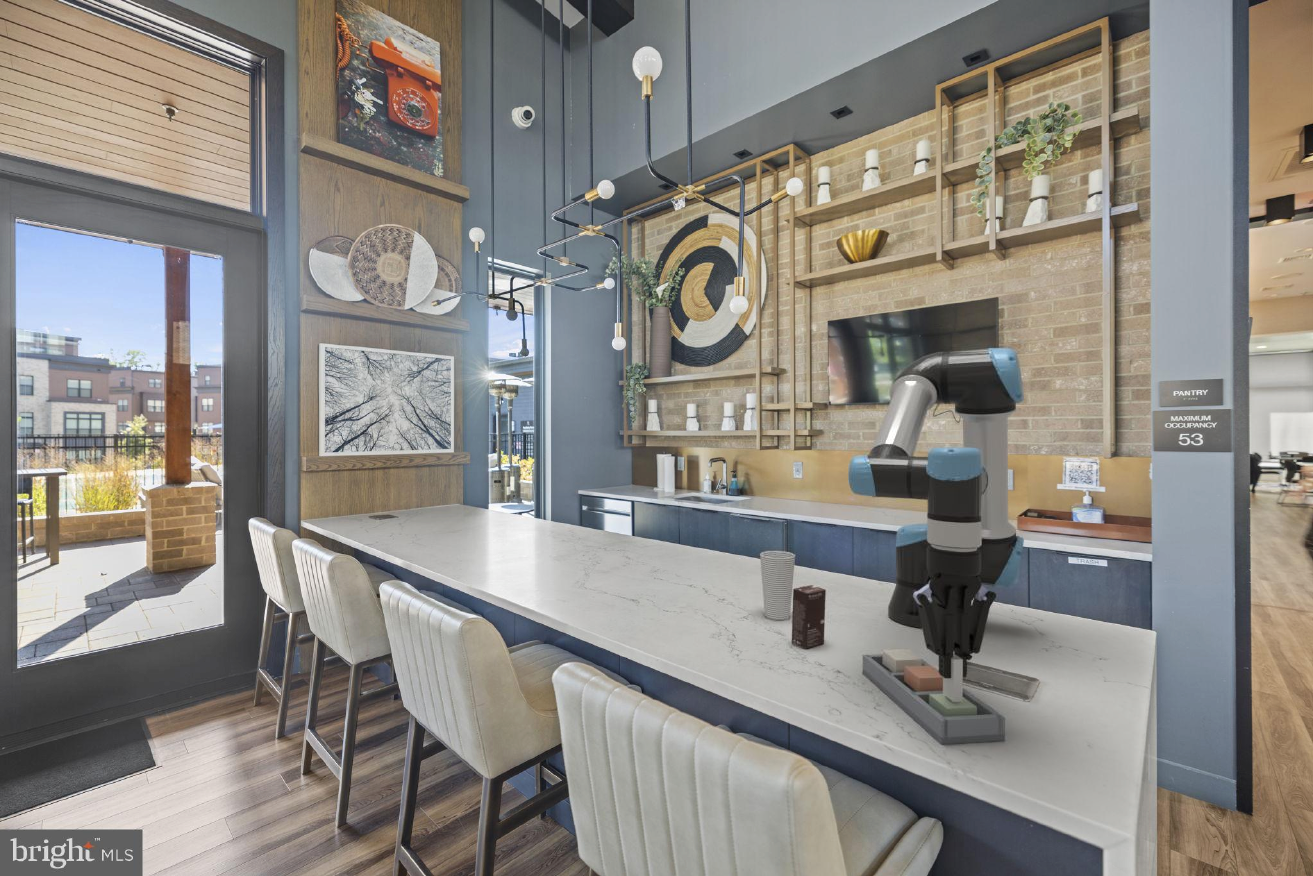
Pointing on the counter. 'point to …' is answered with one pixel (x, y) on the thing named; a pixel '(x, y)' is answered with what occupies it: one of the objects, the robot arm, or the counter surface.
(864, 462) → the robot arm
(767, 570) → the cup
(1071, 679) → the counter surface
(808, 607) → the box
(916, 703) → the gray divided tray
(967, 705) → the key sage
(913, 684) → the key terracotta
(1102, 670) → the counter surface
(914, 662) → the key ivory
